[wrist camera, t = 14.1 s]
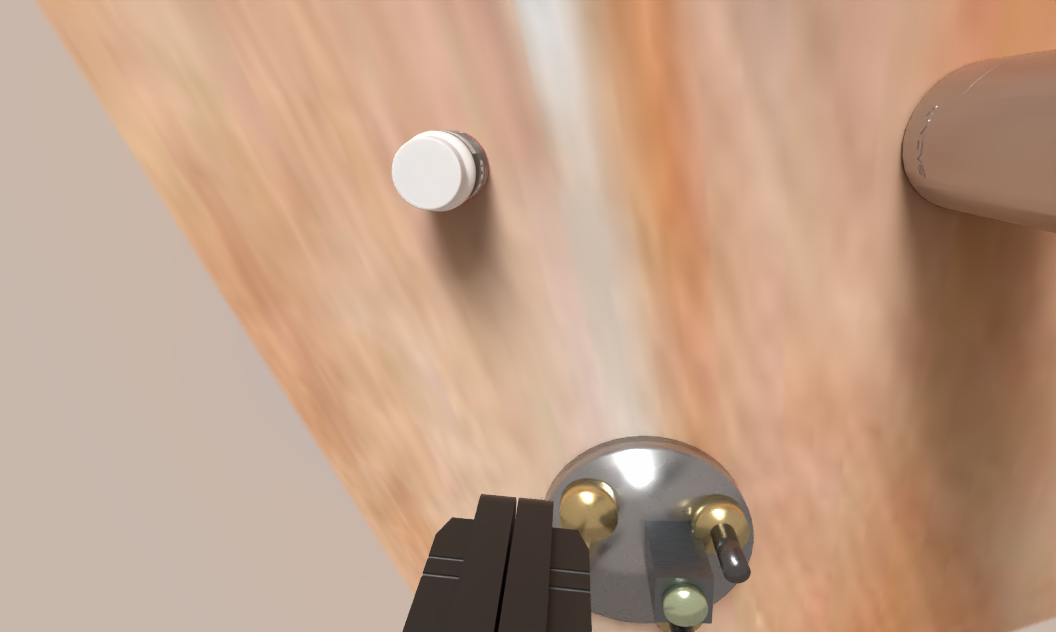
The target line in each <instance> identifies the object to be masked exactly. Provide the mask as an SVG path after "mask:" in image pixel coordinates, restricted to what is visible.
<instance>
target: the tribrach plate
mask: <svg viewBox="0 0 1056 632" xmlns="http://www.w3.org/2000/svg"><path fill="white" fill-rule="evenodd" d="M582 478H593V479H597V480H600V481H602V482H604V483H605V484H607V485H608V486H609V487H610V488H611V489H612V490H613V492H614V494H615V497H616V504H617V513H618V523H617V527H616V529H615V530H614V532H613V533H612V534H611V535H610V536H609V537H607V538H606V539H604V540H601V541H598V542H591V544H590V547H589V560H590V594H591V611H593V612H596V613H598V614H601V615H603V616H606V617H609V618H613V619H616V620H621V621H626V622H634V623H656V624H657V626H658V627H659V628H660V629H662V630H663V631H665V632H694V631H695V630H696V629H698V628H699V627H700V626H701V624H702V623H712V608H713V604H714V603H716V602H718V601H719V600H720V599H721V598H722V597H724V596H725V595H726V594H727V593H728V592H729V591H730V590H731V589H732V588H733V587H734V586H735V585H736V583H742V582H744V581H746V580H747V579H748V578H749V576H750V573H751V571H750V568H749V566H748V563H749V560H750V557H751V554H752V548H753V525H752V519H751V516H750V513H749V510H748V507H747V505H746V503H745V501H744V499H743V496H742V494H741V492H740V490H739V488H738V486H737V484H736V483H735V481H734V480H733V478H732V477H731V475H730V474H729V473H728V471H727V470H726V469H725V468H724V467H723V466H722V465H721V464H720V463H719V462H717V461H716V460H715V459H713V458H712V457H711V456H709V455H708V454H706V453H704V452H703V451H701V450H699V449H698V448H695V447H693V446H691V445H688V444H686V443H683V442H680V441H676V440H673V439H668V438H662V437H652V436H637V437H626V438H621V439H615V440H612V441H609V442H605V443H602V444H600V445H597V446H595V447H593V448H591V449H589V450H587V451H585V452H584V453H582V454H580V455H579V456H577V457H576V458H575V459H573V460H572V461H571V462H570V463H568V464H567V465H566V466H565V467H564V469H563V470H562V471H561V472H560V473H559V474H558V475H557V477H556V478H555V480H554V481H553V482H552V484H551V486H550V488H549V490H548V492H547V495H546V498H545V500H548V501H554V507H553V524H552V527H553V528H562V526H561V524H560V497H561V494H562V492H563V490H564V489H565V487H566V486H567V485H568V484H570V483H571V482H573V481H575V480H578V479H582Z"/></svg>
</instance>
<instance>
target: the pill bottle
mask: <svg viewBox="0 0 1056 632" xmlns="http://www.w3.org/2000/svg"><path fill="white" fill-rule="evenodd" d="M488 171H489V164H488V158H487V155H486V153H485V151H484V149H483V147H482V146H481V145H480V143H479V142H478V141H477V140H476V139H475V138H473V137H472V136H470V135H469V134H467V133H464V132H460V131H439V130H434V131H427V132H423V133H421V134H418V135H416V136H415V137H413V138H412V139H411V140H410V141H408V142H406V143H405V144H404V145H403V146H402V147H401V148H400V149H399V150H398V152H397V153H396V155H395V157H394V160H393V164H392V179H393V183H394V185H395V188H396V190H397V191H398V193H399V194H400V196H401V197H402V198H403V199H404V200H405V201H406V202H408V203H409V204H410V205H412V206H414V207H417V208H420V209H424V210H430V211H447V210H451V209H454V208H456V207H458V206H459V205H461V204H462V203H464V202H465V201H467V200H468V199H470V198H472V197H473V196H475V195H476V194H477V193H478V192H479V191H480V190H481V189H482V188H483V186H484V184H485V182H486V180H487V177H488Z"/></svg>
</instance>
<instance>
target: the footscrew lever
mask: <svg viewBox="0 0 1056 632" xmlns="http://www.w3.org/2000/svg"><path fill="white" fill-rule="evenodd" d="M617 523H618V513H617V504H616V497H615V494H614V492H613V490H612V489H611V488H610V487H609V486H608V485H607V484H605V483H604V482H602V481H600V480H597V479H593V478H582V479H578V480H575V481H573V482H571V483H570V484H568V485H567V486H566V487H565V489H564V490H563V492H562V494H561V497H560V524H561V526H562V528H563V529H573V530H578V531H579V533H580V534H581V536H582V538H583V540H584V541H585V543H586V545H587V547H588V548H589V547H590V544H591V542H598V541H601V540H604V539H606V538H607V537H609V536H610V535H611V534H612V533H613V532H614V530H615V529H616V527H617Z"/></svg>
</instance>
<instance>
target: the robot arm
mask: <svg viewBox="0 0 1056 632" xmlns="http://www.w3.org/2000/svg"><path fill="white" fill-rule="evenodd" d="M903 163H904V168H905V172H906V174H907V177H908V179H909V181H910V183H911V185H912V186H913V187H914V188H915V190H916V191H917V192H918V193H919V194H920V195H921V196H922V197H923V198H925V199H926V200H928V201H929V202H930V203H933V204H935V205H938V206H940V207H943V208H946V209H950V210H955V211H960V212H964V213H969V214H973V215H978V216H982V217H986V218H990V219H995V220H999V221H1004V222H1008V223H1013V224H1017V225H1022V226H1026V227H1031V228H1035V229H1040V230H1044V231H1049V232H1053V233H1056V49H1055V50H1049V51H1042V52H1034V53H1028V54H1022V55H1015V56H1009V57H1003V58H997V59H991V60H985V61H981V62H977V63H974V64H970V65H967V66H965V67H963V68H961V69H959V70H957V71H955V72H952V73H951V74H950V75H948V76H947V77H945V78H944V79H943V80H941V81H940V82H938V83H937V84H936V85H935V86H934V87H933V88H932V89H931V90H930V91H929V92H928V93H927V94H926V95H925V96H924V98H923V99H922V100H921V102H920V103H919V105H918V106H917V107H916V109H915V110H914V112H913V114H912V117H911V119H910V121H909V123H908V125H907V128H906V132H905V136H904V140H903ZM553 507H554V501H548V500H538V499H528V498H519V500H518V506H517V513H516V497H506V496H496V495H485V494H481V496H480V499H479V503H478V507H477V511H476V515H475V518H474V520H472V519H463V518H453V517H452V518H451V519H450V520H449V521H448V522H447V523H446V524H445V525H444V526H443V528H442V529H441V530H440V531H439V532H438V533H437V534H436V536H435V539H434V541H433V544H432V547H431V550H430V553H429V558H428V559H427V562H426V565H425V568H424V571H423V576H422V577H421V579H420V582H419V585H418V588H417V591H416V594H415V597H414V600H413V603H412V606H411V609H410V611H409V614H408V617H407V620H406V623H405V626H404V629H403V632H592V626H591V594H590V560H589V548H588V547H587V545H586V543H585V541H584V540H583V538H582V536H581V534H580V533H579V531H578V530H573V529H563V528H553V527H552V524H553ZM515 517H516V519H515Z"/></svg>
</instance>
